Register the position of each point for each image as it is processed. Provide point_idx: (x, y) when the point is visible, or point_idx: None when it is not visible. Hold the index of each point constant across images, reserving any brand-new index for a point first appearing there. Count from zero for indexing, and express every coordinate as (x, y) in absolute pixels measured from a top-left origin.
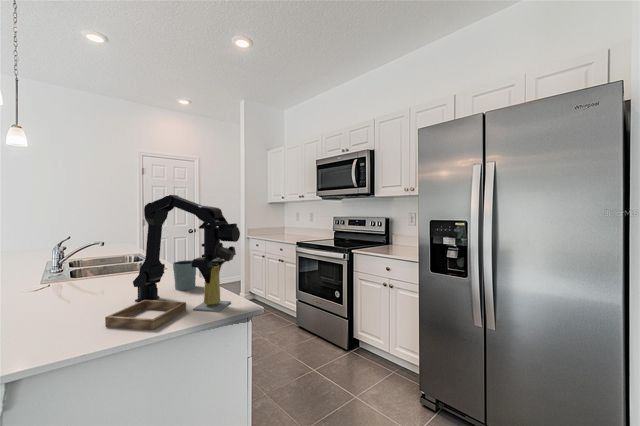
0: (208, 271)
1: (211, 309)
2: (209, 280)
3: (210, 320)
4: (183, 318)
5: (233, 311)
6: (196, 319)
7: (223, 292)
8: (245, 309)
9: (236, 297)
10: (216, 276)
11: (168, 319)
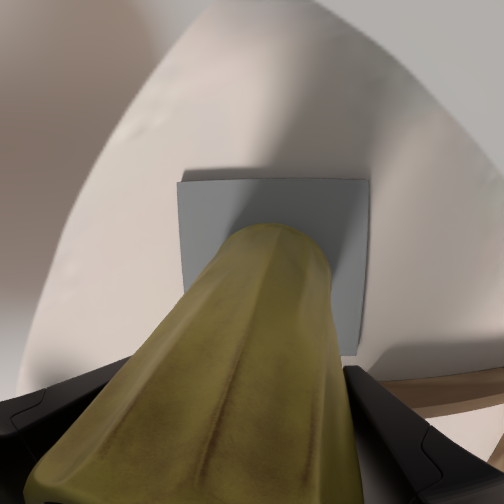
0: (480, 482)
1: (360, 236)
2: (374, 381)
3: (484, 169)
4: (464, 328)
5: (336, 84)
6: (479, 255)
7: (49, 314)
8: (284, 28)
9: (86, 198)
10: (279, 344)
11: (486, 373)
